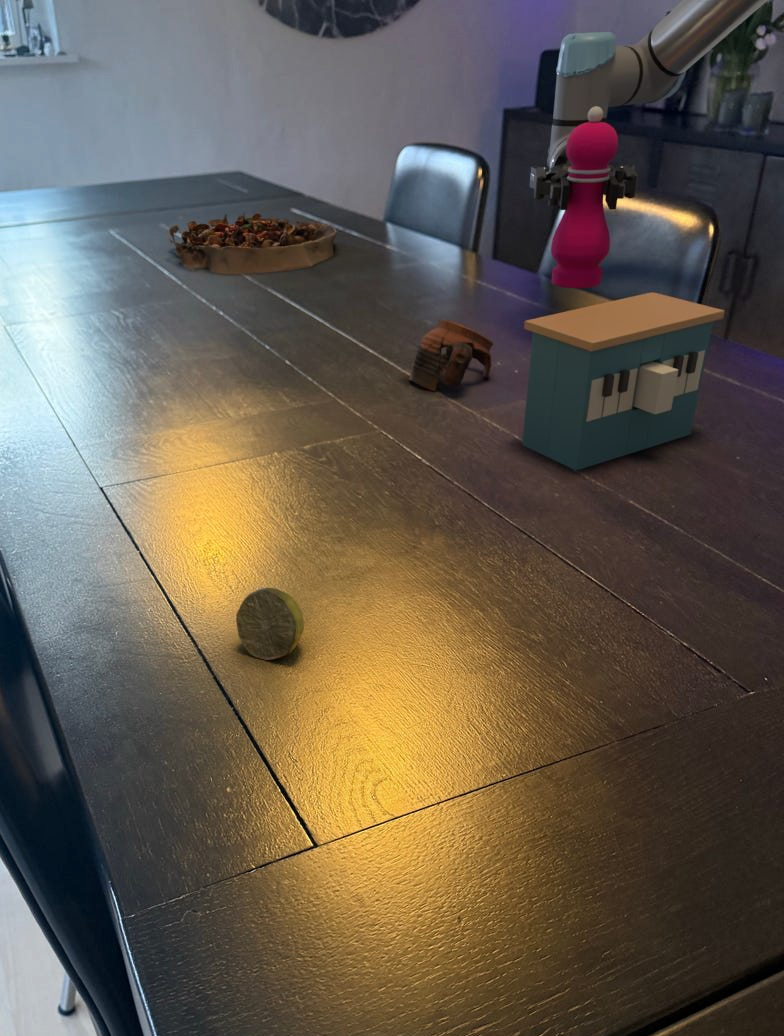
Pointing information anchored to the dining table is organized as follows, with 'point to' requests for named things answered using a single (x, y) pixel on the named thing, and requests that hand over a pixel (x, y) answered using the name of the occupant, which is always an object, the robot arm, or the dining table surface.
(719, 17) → the robot arm
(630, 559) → the dining table surface
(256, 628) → the lime
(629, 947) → the dining table surface
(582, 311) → the toy piano
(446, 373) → the rusty brown helmet
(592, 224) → the pepper mill
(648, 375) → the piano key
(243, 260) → the food dish
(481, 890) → the dining table surface
